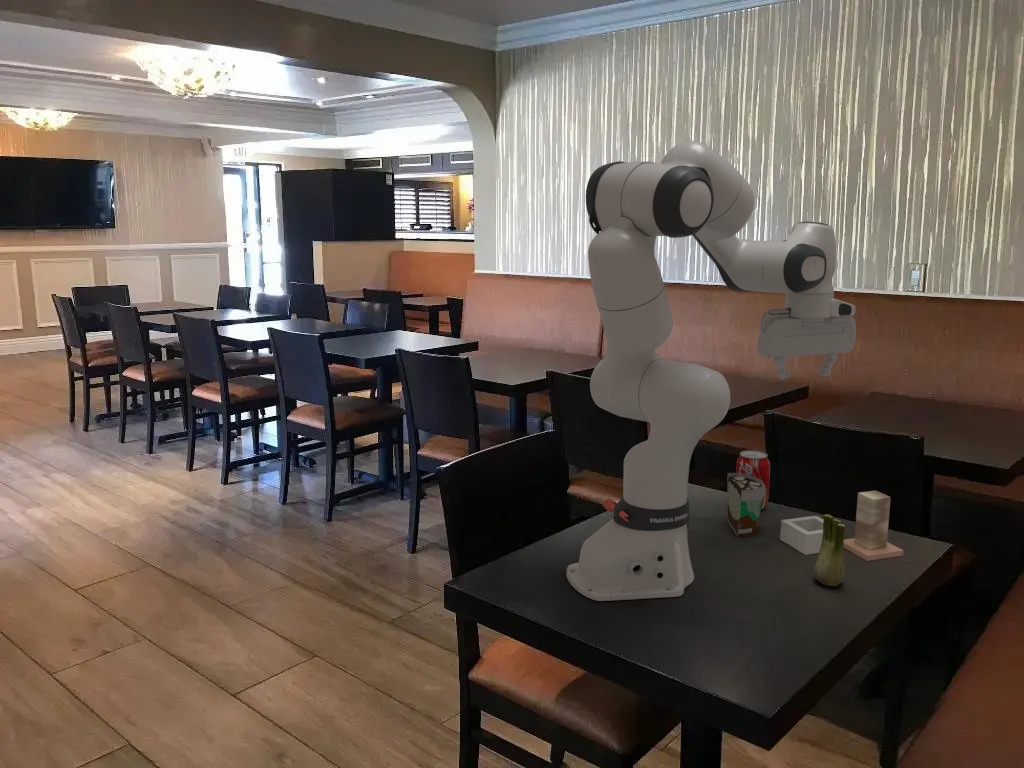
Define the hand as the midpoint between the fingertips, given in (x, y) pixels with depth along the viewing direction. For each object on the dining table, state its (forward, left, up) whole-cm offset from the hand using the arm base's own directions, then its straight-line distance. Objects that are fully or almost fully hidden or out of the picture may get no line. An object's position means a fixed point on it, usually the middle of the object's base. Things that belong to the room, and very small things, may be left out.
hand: (804, 377), depth 168 cm
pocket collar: (-3, -9, -31) cm, 33 cm away
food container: (-10, +2, -31) cm, 33 cm away
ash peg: (+6, -15, -30) cm, 34 cm away
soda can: (-2, +13, -31) cm, 34 cm away
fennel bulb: (-11, -24, -31) cm, 41 cm away
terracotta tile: (+6, -15, -31) cm, 35 cm away
